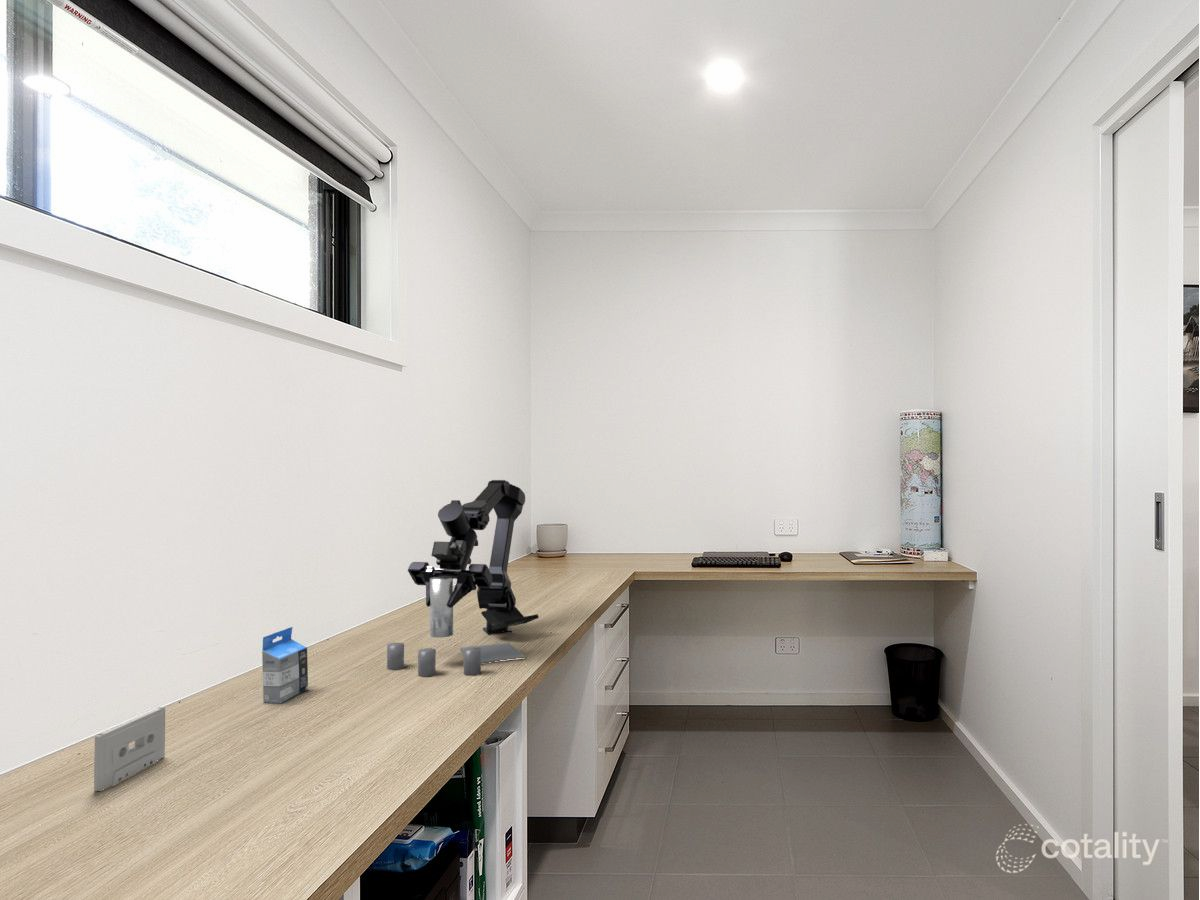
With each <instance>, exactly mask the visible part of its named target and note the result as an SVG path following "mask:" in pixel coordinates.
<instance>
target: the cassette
mask: <svg viewBox="0 0 1200 900" xmlns="http://www.w3.org/2000/svg"><path fill="white" fill-rule="evenodd" d="M133 742H134V746H132V747H129V745H130V743H133ZM165 756H166V708H165V707H159V706H158V707H156V708H154V709H152V710H149V711H147V712H146V713H143V714H141V715H138V716H137V717H133V718H132V719H130V720H128V721H125V722H122V723H120V724H119V725H116V726H113V727H111V728H110V729H106V730H105V731H104V730H103V732H100V733H98V734H96V735H95V737H94V757H93V758H94V759H93V760H94V769H93V770H94V771H93V772H94V773H93V777H94V778H93V791H94V792H97V791H101V792H103V791H104V790H103V789H105V788H107V789H109V788H111V787H110V786H113V787H115V786H116V784H117V783H119V782H120V783H122V782H124V781H126V780H127V779H126V778H128V779H130V778H131V777H130V776H132V777H133V776H135V775H137V774H138V773H137V772H139V773H140V771H141V770H143V769H145V768H146V769H148V768H150V767H151V765H152V764H154V763H156V762H158V761H157V760H159V759H161V758H163V757H164V758H165ZM164 758H163V759H164ZM161 760H162V759H161ZM159 761H160V760H159ZM156 764H157V763H156ZM154 765H155V764H154ZM149 766H150V767H149ZM152 766H153V765H152ZM147 767H148V768H147ZM146 769H145V770H146ZM143 771H144V770H143ZM141 772H142V771H141ZM136 773H137V774H136ZM134 774H135V775H134ZM129 777H130V778H129ZM125 779H126V780H125ZM123 780H124V781H123ZM121 781H122V782H121ZM120 783H119V784H120ZM114 785H115V786H114ZM117 785H118V784H117ZM108 787H109V788H108ZM102 790H103V791H102ZM105 790H106V789H105Z"/></svg>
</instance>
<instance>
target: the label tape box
mask: <svg viewBox="0 0 1200 900" xmlns="http://www.w3.org/2000/svg"><path fill="white" fill-rule="evenodd" d="M292 634H293V626H290V627H287V628H285V629H283V630H279V631H276V632H274V633H271V634H268V635H265V636H263V637H262V646H261V647H262V650H261V651H262V652H261V653H262V657H261V659H262V663H261V664H262V666H261V667H262V691H263V692H262V695H263V697H262V699H263V700H262V701H263V702H262V703H264V702H266V704H282V703H283V702H287V701H289V699H291V698H294V697H295V696H297V695H299V694H301V693H302V692H305V691H306V690H308V689H309V675H308V674H309V673H308V671H309V670H308V667H309V666H308V665H309V664H308V647H306V646H305V645H303V644H301V643H299V642H297V641H296V640H293V639H292V636H293V635H292ZM277 638H281V639H279V640H276V639H277ZM274 640H276V641H274ZM273 641H274V642H273ZM304 690H305V691H304ZM268 702H270V703H268Z"/></svg>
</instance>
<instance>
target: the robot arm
mask: <svg viewBox="0 0 1200 900" xmlns="http://www.w3.org/2000/svg"><path fill="white" fill-rule="evenodd" d="M525 503H526V493H525V492H524V491H523V490H522V488H520V487H518V486H516V485H513V484H511V483H510V482H509V481H508V480H505V479H491V480H489V481H488V483H487V485H486V487H485V488H483V490H482V491H481V492H480V493H479V494H478V496H477V497H476V498H475V499H474V500H472V501H469V502H466V503H464V504H462V503H461V501H460V500H459V499H455V500H453V499H451V501H450V503H448V504H446V505H444V506H442V507H441V508H440V509H439V510H438V512H437V517H438V519H439V521H440V523H441V526H442V527H443V529H444V531H445V533H446V535H447V536H448V537H450V540H449V541H433V547H432V551H431V554H430V555H431V557H434V558H435V559H436V561H435V563H436V565H437V566H439V567H438V568H436V567H434V566H431V565H430V564H429V562H428V561H413V562H411V563H410V564H409V566H408V569H407V572H408V573H409V576H410V578H411V579H412V581H413V582H414V584H415V585H417V586H425V605H426V607H429V608H430V578H432V577H440V576H449V577H453V580H456V583H455V585H454V587H453V593H452V596H451V598H450V601H449V607H450V608H452V607H453V608H454V606H455V605H456V604H457V603H458V602H460V600H462V599H463V598H464V597H466V596H467V595H469V593H471V592H472V591H476V596H477V602H478V608H479V609H481V610H482V609H485V611H488V610H494V609H500V610H495V611H498V612H506V610H510V609H515V607H516V604H517V600H516V599H517V598H516V596H515V594H514V592H513V590H512V582H511V581H512V580H511V579H510V577H509V575H508V565H509V559H510V553H511V552H510V551H511V547H512V546H511V545H512V539H513V534H514V533H513V532H514V526H515V521H516V520H517V519H518V517H519V516H520V515H521V514H522V511H523V507H524V505H525ZM493 510H494V512H495V515H496V523H495V530H494V535H493V540H492V541H493V542H492V546H491V547H492V548H491V555H490V560H489V566H488V565H487V564H486V563H472V558H471V555H472V553H473V550H474V548H475V547H479V540H478V535H477V532H476V531H484V530H485V529H486V528H487V526H488V524H489V523H490V519H491V518H490V513H491V512H492V511H493ZM468 565H469V566H468ZM467 566H468V568H467ZM485 620H486V619H485ZM485 624H486V626H485V627H482V631H484V633H486V634H487V635H497V634H507V633H508V632H509V633H512V632H513V630H512V629H511V628H509V627H505V628H500V629H495V630H492V626H491V625H490V624H489V623H488V621H487V620H486V623H485Z"/></svg>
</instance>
